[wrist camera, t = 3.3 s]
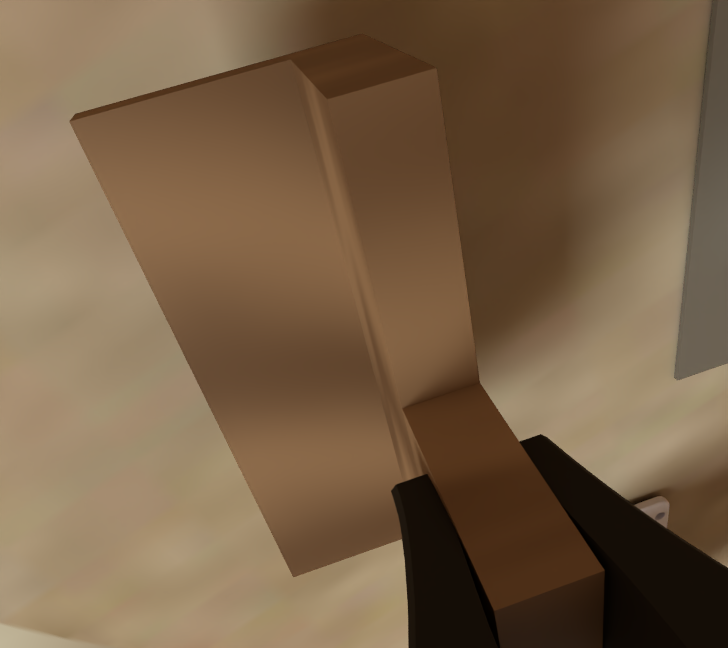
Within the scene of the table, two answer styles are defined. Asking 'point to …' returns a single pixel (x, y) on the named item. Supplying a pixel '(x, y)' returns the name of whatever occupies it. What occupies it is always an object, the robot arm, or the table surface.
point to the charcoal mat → (708, 220)
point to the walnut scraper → (339, 316)
